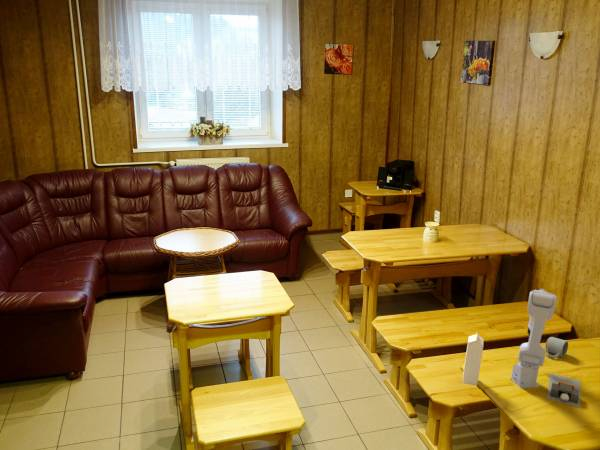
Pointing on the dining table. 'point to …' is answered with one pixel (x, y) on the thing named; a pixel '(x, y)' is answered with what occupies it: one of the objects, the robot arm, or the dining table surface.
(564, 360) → the dining table surface
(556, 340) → the ceramic mug
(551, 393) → the hitch block
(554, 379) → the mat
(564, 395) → the pin
